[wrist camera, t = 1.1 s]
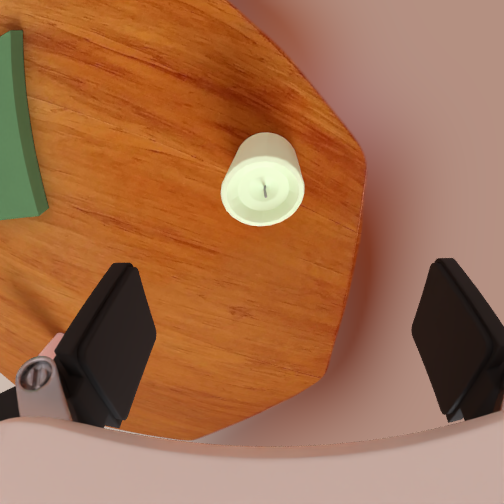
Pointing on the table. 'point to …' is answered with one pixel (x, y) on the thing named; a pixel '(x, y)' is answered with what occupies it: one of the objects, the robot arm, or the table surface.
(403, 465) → the robot arm
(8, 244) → the table surface
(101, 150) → the table surface
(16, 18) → the table surface
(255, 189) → the candle
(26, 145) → the foam
